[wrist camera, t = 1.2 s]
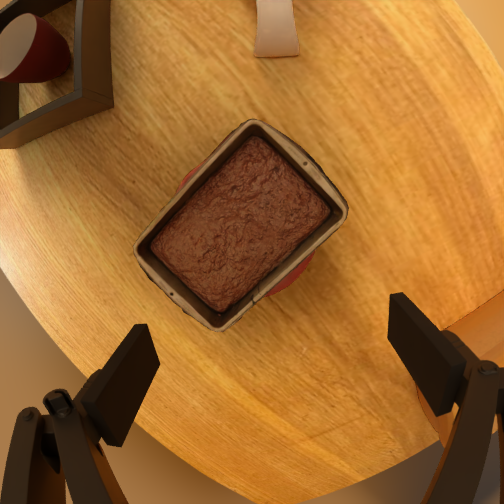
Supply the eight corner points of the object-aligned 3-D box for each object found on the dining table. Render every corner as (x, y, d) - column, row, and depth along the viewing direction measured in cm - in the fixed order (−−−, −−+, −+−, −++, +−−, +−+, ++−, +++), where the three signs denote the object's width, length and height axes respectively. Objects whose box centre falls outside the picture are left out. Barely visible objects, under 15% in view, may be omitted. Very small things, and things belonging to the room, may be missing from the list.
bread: (418, 403, 39) (453, 469, 24) (407, 348, 36) (455, 422, 22) (525, 331, 35) (573, 373, 21) (526, 270, 32) (589, 307, 18)
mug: (27, 57, 27) (-19, 42, 17) (67, 17, 25) (25, -8, 16) (48, 104, 29) (-4, 94, 19) (92, 60, 27) (45, 37, 18)
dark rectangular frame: (19, 27, 25) (-8, 16, 18) (111, -23, 24) (89, -46, 17) (16, 148, 30) (-19, 150, 24) (114, 107, 29) (82, 97, 22)
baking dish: (152, 212, 34) (110, 247, 25) (269, 105, 28) (262, 99, 19) (233, 297, 38) (218, 352, 29) (354, 211, 32) (379, 249, 23)
